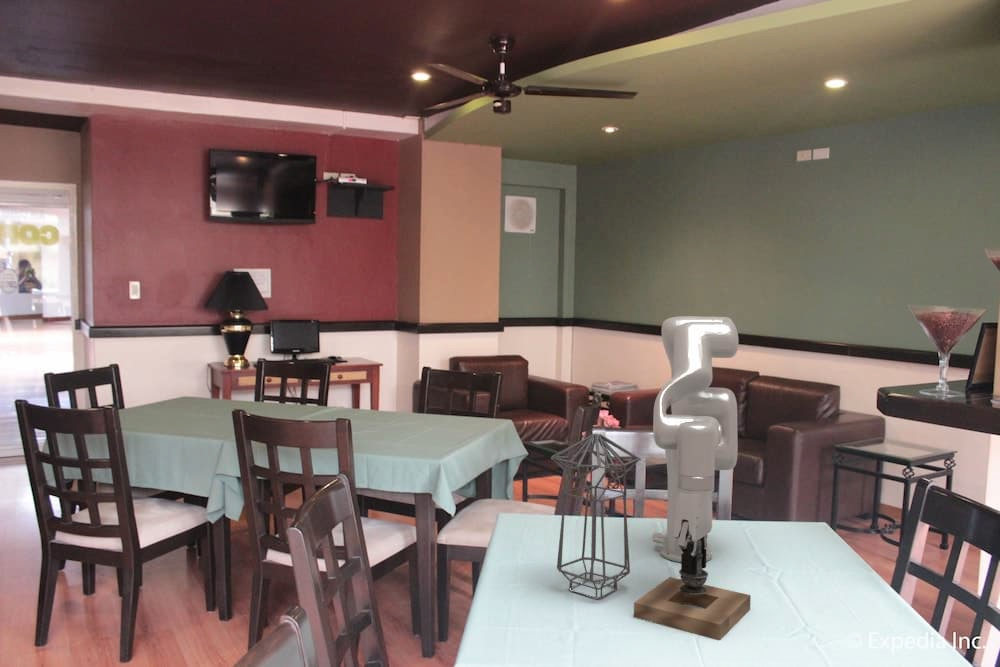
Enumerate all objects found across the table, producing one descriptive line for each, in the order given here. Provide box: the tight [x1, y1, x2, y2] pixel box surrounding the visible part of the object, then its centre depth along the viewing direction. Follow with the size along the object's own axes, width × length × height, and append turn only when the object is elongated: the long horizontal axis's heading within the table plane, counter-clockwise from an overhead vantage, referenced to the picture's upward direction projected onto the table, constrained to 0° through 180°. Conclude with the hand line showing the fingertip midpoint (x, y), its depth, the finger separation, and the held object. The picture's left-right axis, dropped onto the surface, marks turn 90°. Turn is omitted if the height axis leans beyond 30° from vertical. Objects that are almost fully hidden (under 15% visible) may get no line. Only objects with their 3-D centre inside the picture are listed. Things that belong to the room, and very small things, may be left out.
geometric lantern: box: [550, 433, 642, 599], centre depth 176 cm, size 16×16×35 cm
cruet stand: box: [633, 576, 752, 641], centre depth 164 cm, size 18×18×3 cm
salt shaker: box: [678, 537, 709, 595], centre depth 164 cm, size 6×6×12 cm
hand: (693, 569), depth 164 cm, fingers closed on salt shaker, 4 cm apart
